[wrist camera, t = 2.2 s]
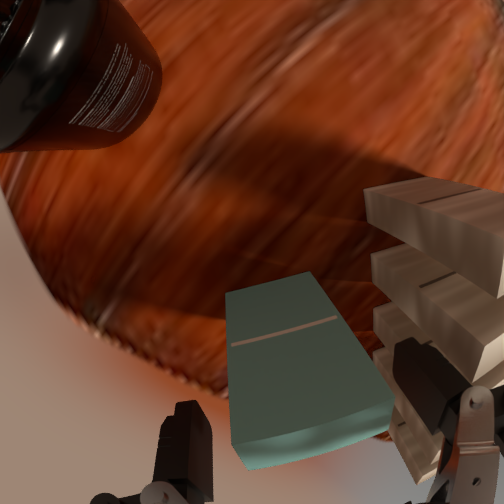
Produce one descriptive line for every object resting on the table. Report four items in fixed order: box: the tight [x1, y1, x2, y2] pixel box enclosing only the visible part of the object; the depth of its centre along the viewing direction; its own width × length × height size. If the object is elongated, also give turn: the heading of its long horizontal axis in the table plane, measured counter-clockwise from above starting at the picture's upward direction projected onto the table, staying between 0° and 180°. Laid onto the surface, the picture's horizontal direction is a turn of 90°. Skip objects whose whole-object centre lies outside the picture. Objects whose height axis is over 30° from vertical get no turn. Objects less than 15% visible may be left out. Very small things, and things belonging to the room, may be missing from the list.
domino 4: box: [373, 301, 504, 389], centre depth 13 cm, size 2×5×10 cm, turn 104°
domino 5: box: [373, 347, 444, 465], centre depth 15 cm, size 2×5×10 cm, turn 104°
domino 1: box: [225, 271, 395, 470], centre depth 12 cm, size 2×5×10 cm, turn 104°
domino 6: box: [388, 404, 439, 485], centre depth 16 cm, size 2×5×10 cm, turn 104°
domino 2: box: [363, 177, 504, 299], centre depth 11 cm, size 2×5×10 cm, turn 104°
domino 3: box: [370, 243, 504, 383], centre depth 12 cm, size 2×5×10 cm, turn 104°
